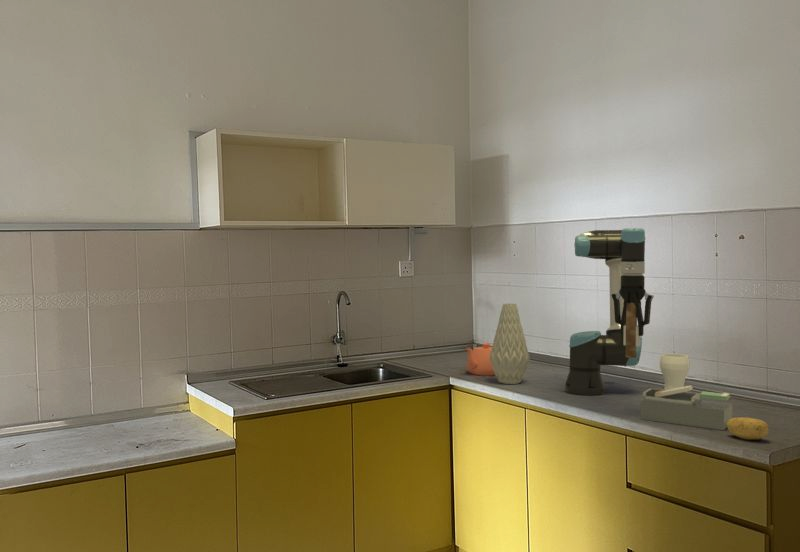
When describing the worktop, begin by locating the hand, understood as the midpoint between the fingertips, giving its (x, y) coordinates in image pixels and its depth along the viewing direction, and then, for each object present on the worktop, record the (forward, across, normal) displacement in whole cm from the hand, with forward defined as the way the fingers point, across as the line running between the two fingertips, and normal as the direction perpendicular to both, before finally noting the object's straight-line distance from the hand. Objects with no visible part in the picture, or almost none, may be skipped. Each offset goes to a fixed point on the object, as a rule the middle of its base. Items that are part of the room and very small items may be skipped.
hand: (631, 345), depth 236 cm
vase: (+23, -60, +30) cm, 71 cm away
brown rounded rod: (+4, 0, -1) cm, 4 cm away
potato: (+24, +37, -11) cm, 45 cm away
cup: (+24, +3, +43) cm, 49 cm away
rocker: (+14, +13, +2) cm, 19 cm away
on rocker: (+14, +26, +2) cm, 29 cm away
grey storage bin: (+23, +17, +2) cm, 29 cm away
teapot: (+24, -79, +44) cm, 93 cm away
